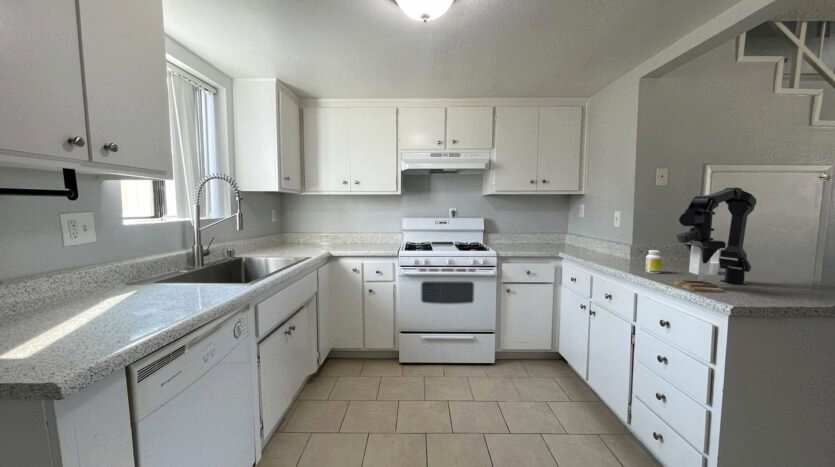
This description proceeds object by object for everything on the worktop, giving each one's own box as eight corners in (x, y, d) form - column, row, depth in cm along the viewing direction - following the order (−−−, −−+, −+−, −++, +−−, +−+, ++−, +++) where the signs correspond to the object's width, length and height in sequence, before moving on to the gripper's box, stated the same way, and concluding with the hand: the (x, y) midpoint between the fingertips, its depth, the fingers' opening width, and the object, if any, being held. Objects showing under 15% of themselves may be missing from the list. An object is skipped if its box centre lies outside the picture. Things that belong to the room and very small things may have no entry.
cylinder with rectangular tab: (701, 274, 160) (703, 251, 159) (690, 270, 168) (692, 248, 167) (722, 275, 158) (724, 251, 156) (710, 271, 166) (712, 249, 165)
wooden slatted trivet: (672, 283, 142) (672, 278, 142) (699, 284, 140) (700, 279, 140) (693, 291, 128) (694, 286, 128) (724, 292, 126) (725, 287, 126)
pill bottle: (663, 273, 161) (665, 251, 159) (651, 273, 161) (652, 251, 160) (654, 271, 167) (655, 249, 166) (642, 271, 167) (643, 249, 166)
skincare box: (709, 275, 130) (712, 247, 129) (697, 275, 131) (700, 247, 130) (699, 272, 136) (702, 245, 135) (688, 271, 137) (690, 245, 136)
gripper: (667, 224, 142) (665, 257, 144) (696, 227, 124) (693, 265, 125) (695, 224, 140) (692, 258, 142) (728, 227, 122) (724, 266, 123)
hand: (699, 261), depth 133 cm, fingers closed on skincare box, 6 cm apart
